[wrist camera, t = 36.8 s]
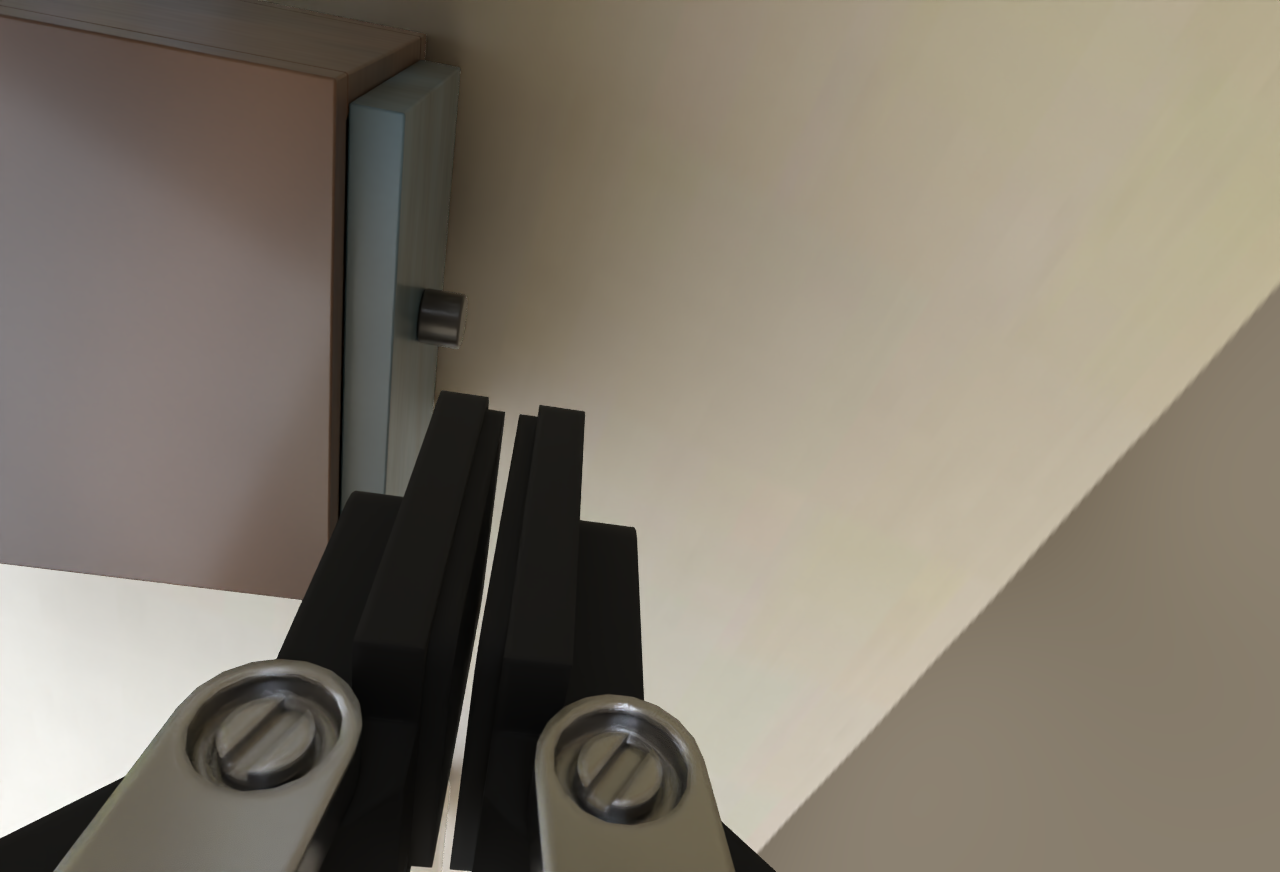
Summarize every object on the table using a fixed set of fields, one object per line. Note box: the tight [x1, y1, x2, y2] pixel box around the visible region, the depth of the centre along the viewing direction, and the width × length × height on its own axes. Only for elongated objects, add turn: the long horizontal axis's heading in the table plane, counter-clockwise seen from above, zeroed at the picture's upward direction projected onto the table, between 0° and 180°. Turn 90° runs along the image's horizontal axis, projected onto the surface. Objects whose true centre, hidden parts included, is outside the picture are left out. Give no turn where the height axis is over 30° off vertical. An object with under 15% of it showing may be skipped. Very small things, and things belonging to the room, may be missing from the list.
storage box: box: [340, 60, 468, 515], centre depth 24 cm, size 14×13×8 cm
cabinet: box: [0, 0, 427, 600], centre depth 24 cm, size 14×14×10 cm
